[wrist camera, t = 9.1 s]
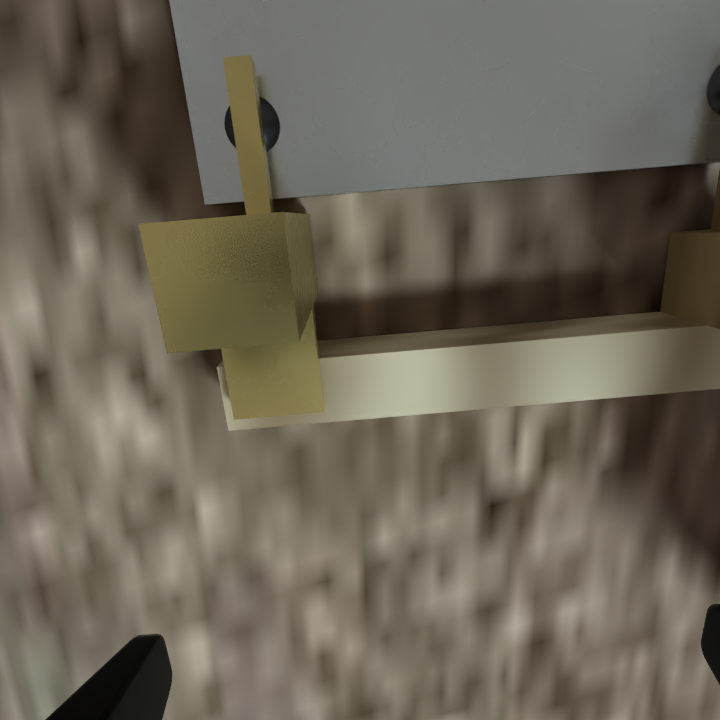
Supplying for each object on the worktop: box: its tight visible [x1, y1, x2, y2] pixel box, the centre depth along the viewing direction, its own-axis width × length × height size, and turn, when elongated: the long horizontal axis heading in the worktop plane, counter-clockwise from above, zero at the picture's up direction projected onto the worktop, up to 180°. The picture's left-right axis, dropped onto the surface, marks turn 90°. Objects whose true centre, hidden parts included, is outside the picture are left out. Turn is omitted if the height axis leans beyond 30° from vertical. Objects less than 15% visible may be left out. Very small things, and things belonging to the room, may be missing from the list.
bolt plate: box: [169, 0, 720, 205], centre depth 15 cm, size 20×7×1 cm, turn 95°
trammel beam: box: [217, 171, 720, 431], centre depth 14 cm, size 20×10×6 cm, turn 95°
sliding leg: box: [139, 55, 325, 420], centre depth 13 cm, size 3×11×7 cm, turn 5°
